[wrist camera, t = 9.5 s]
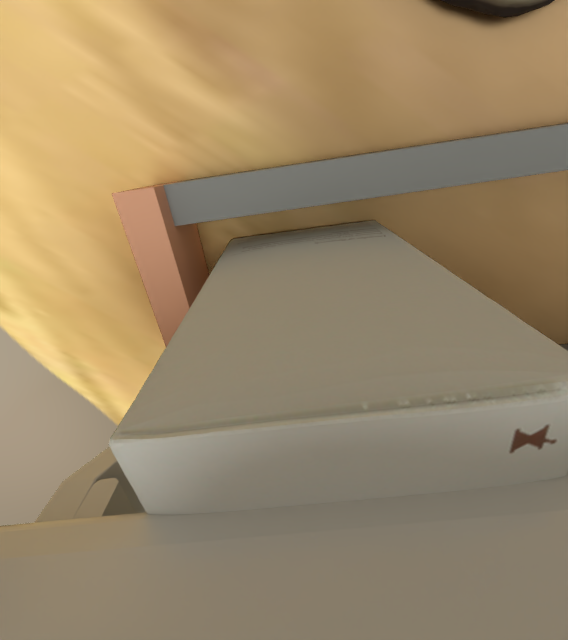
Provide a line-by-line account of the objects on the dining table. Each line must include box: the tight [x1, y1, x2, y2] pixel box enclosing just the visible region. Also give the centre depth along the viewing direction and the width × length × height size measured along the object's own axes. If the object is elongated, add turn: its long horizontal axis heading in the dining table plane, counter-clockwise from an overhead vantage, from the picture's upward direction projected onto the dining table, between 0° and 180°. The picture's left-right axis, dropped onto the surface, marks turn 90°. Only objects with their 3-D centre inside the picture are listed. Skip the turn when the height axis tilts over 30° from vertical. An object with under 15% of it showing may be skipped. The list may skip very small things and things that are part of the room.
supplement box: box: [109, 220, 568, 515], centre depth 11 cm, size 7×7×13 cm
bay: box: [112, 123, 568, 351], centre depth 15 cm, size 25×13×4 cm, turn 98°
